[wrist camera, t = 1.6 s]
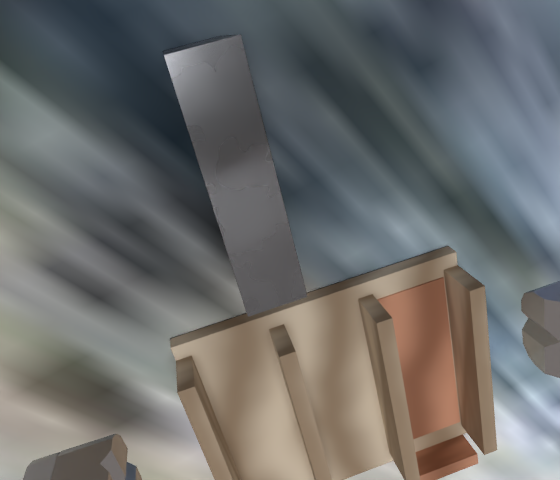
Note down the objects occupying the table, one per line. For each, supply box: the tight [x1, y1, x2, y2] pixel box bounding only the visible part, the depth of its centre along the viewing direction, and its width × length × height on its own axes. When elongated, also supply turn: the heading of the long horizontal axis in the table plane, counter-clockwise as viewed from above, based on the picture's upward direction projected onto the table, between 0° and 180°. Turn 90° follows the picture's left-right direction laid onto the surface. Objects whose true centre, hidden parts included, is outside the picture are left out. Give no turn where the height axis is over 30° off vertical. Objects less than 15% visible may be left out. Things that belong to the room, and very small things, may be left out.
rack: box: [170, 246, 497, 480], centre depth 33 cm, size 19×17×4 cm
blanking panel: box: [163, 34, 307, 317], centre depth 24 cm, size 3×12×7 cm, turn 15°
